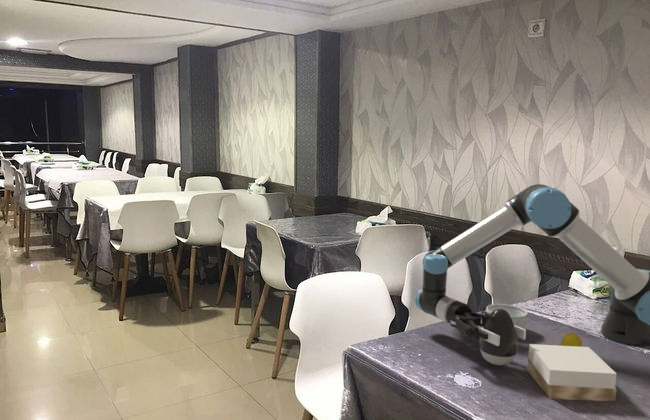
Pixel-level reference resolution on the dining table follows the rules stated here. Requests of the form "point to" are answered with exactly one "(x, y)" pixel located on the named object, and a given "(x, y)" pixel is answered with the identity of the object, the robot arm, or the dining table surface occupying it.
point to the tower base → (571, 389)
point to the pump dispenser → (505, 329)
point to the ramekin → (511, 313)
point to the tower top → (571, 366)
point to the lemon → (571, 340)
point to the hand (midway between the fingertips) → (511, 337)
